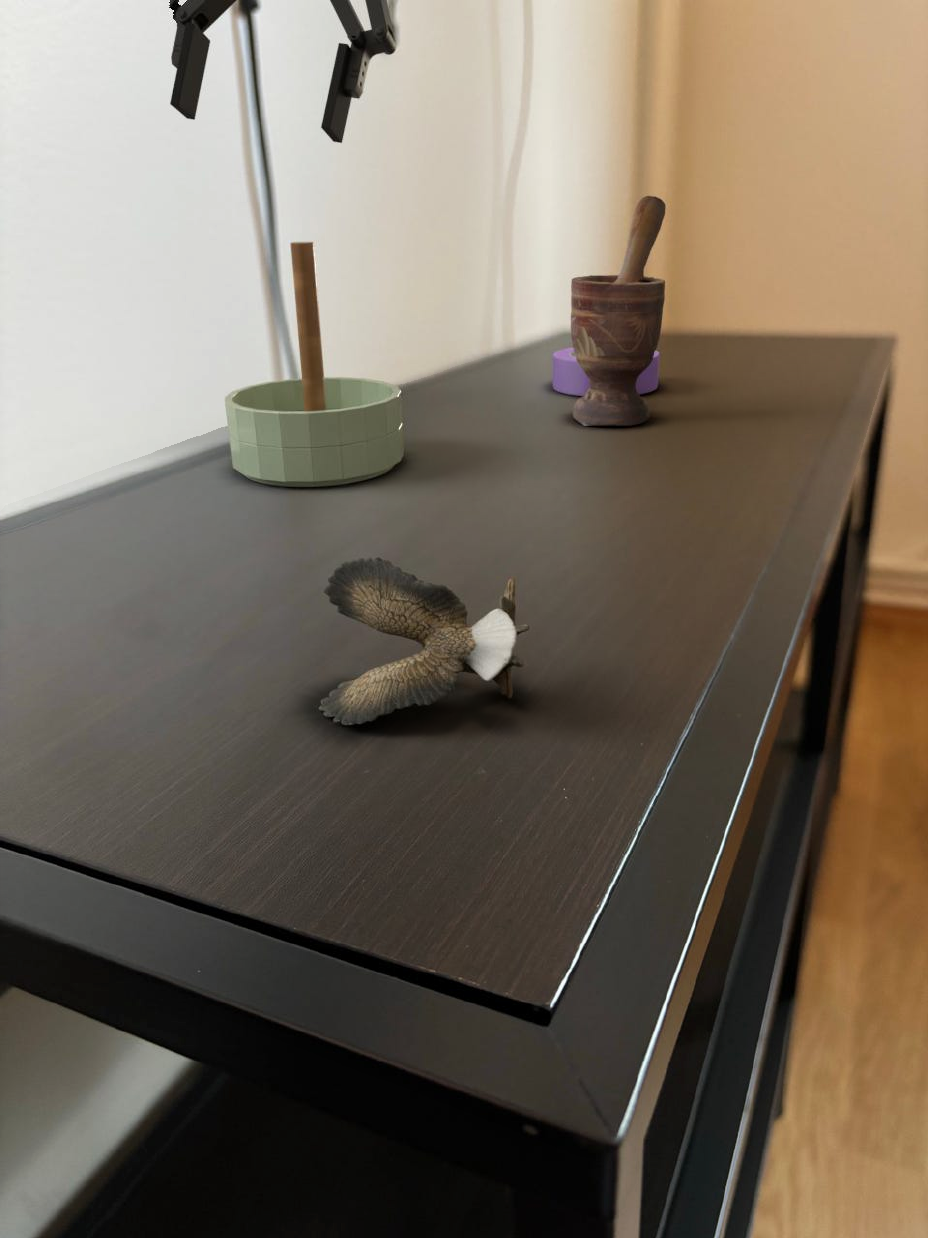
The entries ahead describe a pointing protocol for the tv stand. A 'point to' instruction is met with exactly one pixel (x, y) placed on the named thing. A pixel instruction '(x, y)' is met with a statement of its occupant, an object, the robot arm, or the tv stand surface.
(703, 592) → the tv stand surface
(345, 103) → the robot arm
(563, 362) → the tape roll
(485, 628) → the eagle figurine
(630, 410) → the mortar and pestle
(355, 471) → the bowl
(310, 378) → the wooden peg stand
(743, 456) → the tv stand surface
